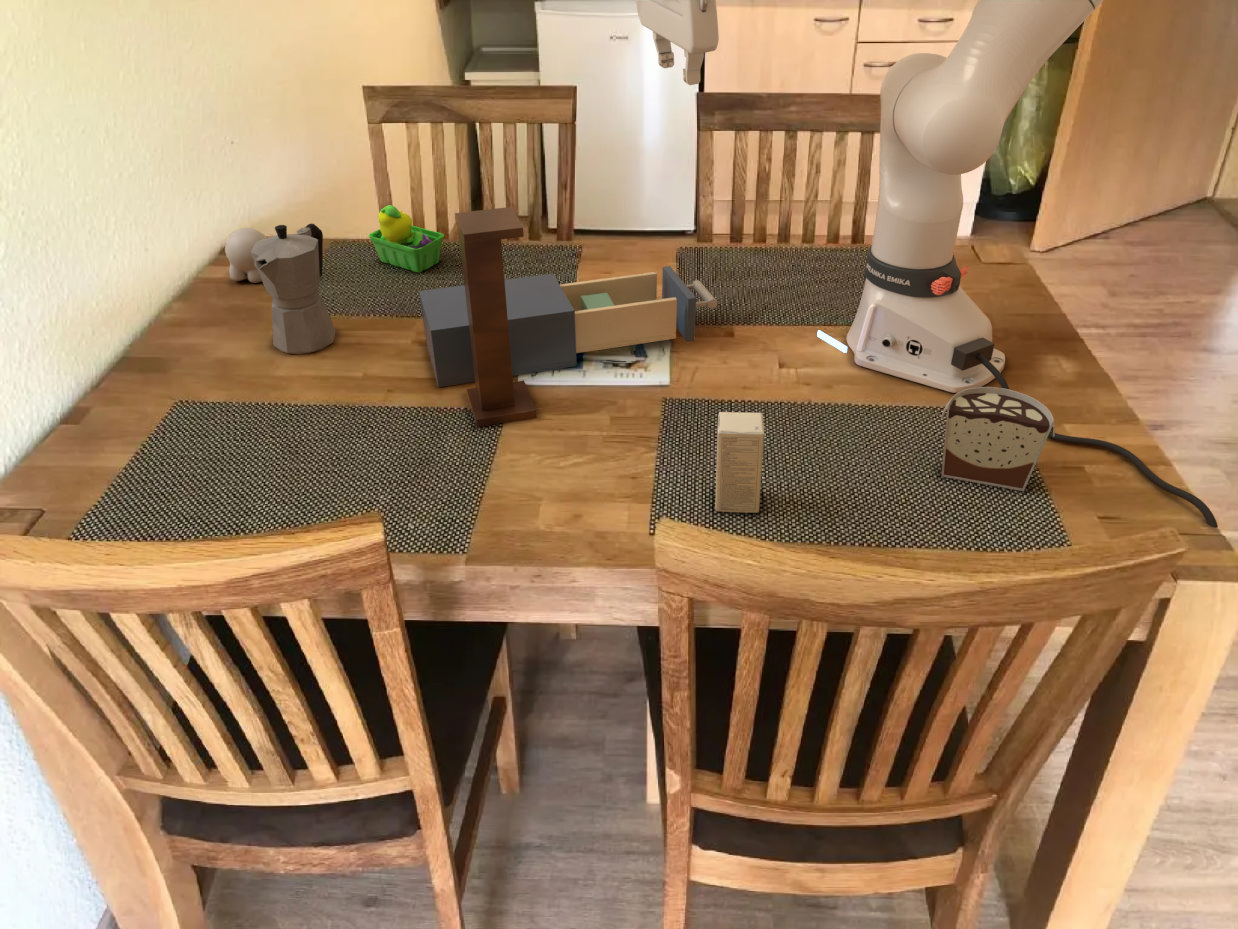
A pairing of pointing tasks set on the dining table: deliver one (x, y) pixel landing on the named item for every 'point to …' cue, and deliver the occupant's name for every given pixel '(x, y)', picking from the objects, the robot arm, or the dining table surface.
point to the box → (739, 462)
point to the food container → (994, 436)
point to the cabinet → (533, 323)
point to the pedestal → (490, 317)
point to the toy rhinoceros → (243, 254)
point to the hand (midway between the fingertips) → (678, 74)
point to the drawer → (636, 310)
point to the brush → (595, 301)
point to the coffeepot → (295, 288)
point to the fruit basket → (405, 241)
